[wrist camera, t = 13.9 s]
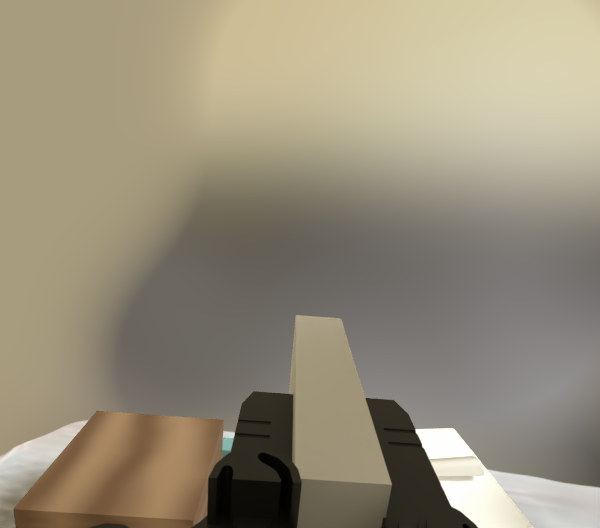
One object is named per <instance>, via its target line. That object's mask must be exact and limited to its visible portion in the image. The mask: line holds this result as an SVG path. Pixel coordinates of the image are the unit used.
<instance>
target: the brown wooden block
mask: <svg viewBox="0 0 600 528" xmlns="http://www.w3.org/2000/svg"><path fill="white" fill-rule="evenodd" d="M223 422H224V421H223V420H217V419H202V418H188V417H173V416H160V415H144V414H132V413H117V412H103V411H97V412H96V413H95V414H94V415H93V416H92V417H91V419H90V420H89V421H88V422H87V423H86V425H85V426H84V427H83V428H82V429H81V430H80V432H79V433H78V434H77V435H76V436H75V437H74V439H73V440H72V441H71V442H70V443H69V445H68V446H67V447H66V448H65V449H64V450H63V452H62V453H61V454H60V455H59V456H58V457H57V459H56V460H55V461H54V462H53V463H52V465H51V466H50V467H49V468H48V469H47V470H46V472H45V473H44V474H43V475H42V476H41V478H40V479H39V480H38V481H37V482H36V483H35V485H34V486H33V487H32V488H31V489H30V490H29V492H28V493H27V494H26V495H25V496H24V498H23V499H22V500H21V501H20V502H19V503H18V505H17V506H16V507H15V508H14V517H15V524H16V528H88V527H92V526H96V525H101V524H105V523H112V524H122V525H126V526H128V527H129V528H191V527H193V526H194V525H196V524H197V523H199V522H200V521H201V520H202V519H204V518H205V517H206V516H207V506H208V477H209V475H210V474H211V472H212V470H213V468H214V466H215V464H216V463H217V462H219V461H220V460H221V459H222V446H223Z"/></svg>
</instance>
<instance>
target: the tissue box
mask: <svg viewBox="0 0 600 528" xmlns="http://www.w3.org/2000/svg"><path fill="white" fill-rule="evenodd" d="M415 430H416V434H418V436H419V438H420V441H421V443H422V448H424V449H425V451H426V453H427V456H428V458H429V460H430V462H431V464H432V466H433V468H434V471H435V473H436V475H437V477H438V479H439V481H440V483H441V486H442V488H443V490H444V492H445V494H446V496H447V499H448V501H449V503H450V505H451V507H453V508H455V509H457V510H459V511H461V512H462V513H463V514H464V515H465V516H467V517H468V518H469V519H470V520H471V521H472V522H473V523H475V524H476V525H477V527H478V528H534V527H533V526H532V525H531V524H530V522H529V521H528V520H527V519H526V517H525V516H524V515H523V514H522V512H521V511H520V510H519V509H518V507H517V506H516V505H515V504H514V502H513V501H512V500H511V499H510V498H509V496H508V495H507V494H506V493H505V491H504V490H503V489H502V488H501V486H500V485H499V484H498V483H497V481H496V480H495V479H494V478H493V476H492V475H491V474H490V473H489V471H488V470H487V469H486V468H485V467H484V465H483V464H482V463H481V462H480V460H479V459H478V458H477V457H476V455H475V454H474V453H473V452H472V450H471V449H470V448H469V447H468V446H467V444H466V443H465V442H464V440H463V439H462V438H461V437H460V436H459V434H458V433H457V432H456V431H455V430H454V428H445V429H415Z"/></svg>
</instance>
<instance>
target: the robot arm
mask: <svg viewBox="0 0 600 528" xmlns="http://www.w3.org/2000/svg"><path fill="white" fill-rule="evenodd" d="M293 344H294V345H293V354H292V365H291V377H290V387H289V394H281V393H266V392H253V393H252V394H251V395H250V396H249V397H248V398H247V399H246V400H245V401H244V402H243V403H242V406H241V410H240V415H239V419H238V423H237V428H236V431H235V436H234V439H233V444H232V448H231V452H230V453H228V454H227V455H226V456H225V457H223V458H222V459H221V460H220V461H219V462H217V463H216V464H215V466H214V468H213V470H212V472H211V474H210V475H209V477H208V506H207V516H206V517H205V518H204V519H202V520H201V521H200V522H199V523H197V524H196V525H194V526H193V527H191V528H478V527H477V525H476V524H475V523H473V522H472V521H471V520H470V519H469V518H468V517H467V516H465V515H464V514H463V513H462V512H461V511H459V510H457V509H455V508H453V507H451V505H450V503H449V501H448V499H447V496H446V494H445V492H444V490H443V488H442V486H441V483H440V481H439V479H438V477H437V475H436V473H435V471H434V468H433V466H432V464H431V462H430V460H429V458H428V456H427V453H426V451H425V449H424V448H422V443H421V441H420V438H419V436H418V434H416V430H415V428H414V426H413V423H412V421H411V419H410V417H409V415H408V414H407V413H406V412H405V411H404V410H403V409H402V408H401V407H400V406H399V405H398V404H397V403H396V402H395V401H394V400H383V399H370V398H365V395H364V392H363V389H362V386H361V382H360V379H359V376H358V373H357V369H356V367H355V363H354V360H353V356H352V353H351V350H350V347H349V343H348V340H347V337H346V334H345V330H344V327H343V324H342V320H341V319H337V318H325V317H313V316H299V315H296V321H295V332H294V343H293ZM88 528H129V527H128V526H126V525H122V524H112V523H105V524H101V525H96V526H92V527H88Z"/></svg>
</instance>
